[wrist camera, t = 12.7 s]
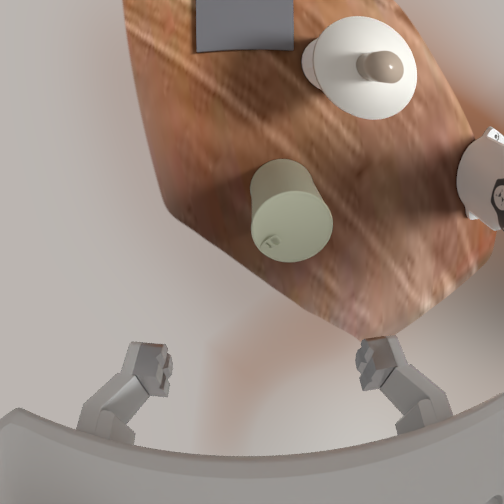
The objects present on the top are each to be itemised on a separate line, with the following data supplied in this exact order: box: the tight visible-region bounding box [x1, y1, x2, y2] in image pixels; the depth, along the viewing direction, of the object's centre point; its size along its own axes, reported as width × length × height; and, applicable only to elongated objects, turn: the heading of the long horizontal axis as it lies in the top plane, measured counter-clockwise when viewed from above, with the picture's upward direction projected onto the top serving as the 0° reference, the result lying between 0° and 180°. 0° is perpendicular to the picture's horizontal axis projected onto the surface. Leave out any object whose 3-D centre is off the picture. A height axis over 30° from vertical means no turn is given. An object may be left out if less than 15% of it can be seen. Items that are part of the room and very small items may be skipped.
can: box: [250, 159, 333, 262], centre depth 35 cm, size 9×9×12 cm
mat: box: [196, 0, 294, 53], centre depth 24 cm, size 12×12×1 cm
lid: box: [312, 16, 417, 120], centre depth 19 cm, size 11×11×5 cm
